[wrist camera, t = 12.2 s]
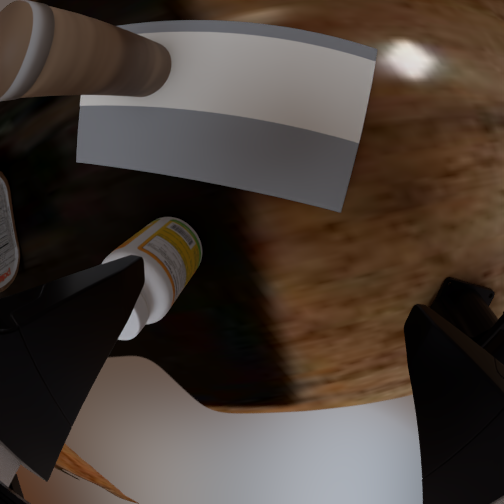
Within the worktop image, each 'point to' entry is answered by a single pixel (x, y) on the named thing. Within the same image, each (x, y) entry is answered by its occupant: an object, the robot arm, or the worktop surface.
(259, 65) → the slate-grey panel
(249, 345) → the worktop surface
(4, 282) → the tin
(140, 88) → the beige tapered cylinder
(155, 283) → the supplement bottle
